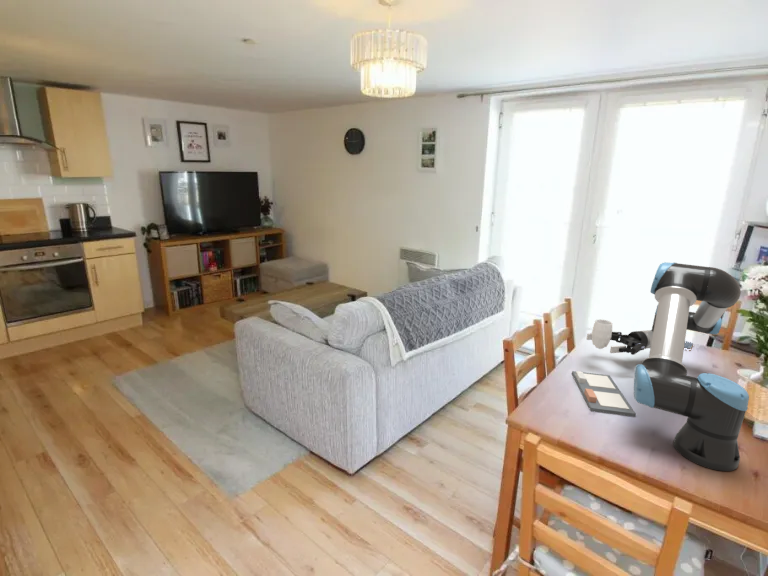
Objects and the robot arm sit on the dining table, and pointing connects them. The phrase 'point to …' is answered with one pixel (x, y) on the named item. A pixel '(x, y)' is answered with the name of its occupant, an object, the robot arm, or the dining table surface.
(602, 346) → the cup
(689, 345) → the woven mat
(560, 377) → the dining table surface
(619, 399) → the coaster board
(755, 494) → the dining table surface
